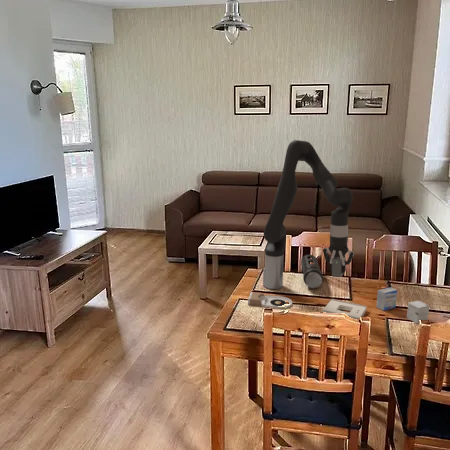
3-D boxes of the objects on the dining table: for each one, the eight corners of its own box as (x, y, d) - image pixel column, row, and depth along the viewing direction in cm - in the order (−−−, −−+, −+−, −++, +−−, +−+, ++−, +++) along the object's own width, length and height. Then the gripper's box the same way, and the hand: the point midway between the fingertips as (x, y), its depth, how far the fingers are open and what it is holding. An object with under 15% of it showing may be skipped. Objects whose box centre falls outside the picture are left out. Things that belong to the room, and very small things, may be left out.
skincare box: (406, 318, 195) (408, 302, 193) (416, 315, 198) (418, 300, 196) (417, 323, 190) (419, 307, 188) (427, 321, 192) (429, 305, 190)
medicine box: (383, 311, 202) (385, 293, 200) (375, 307, 206) (377, 289, 203) (396, 307, 205) (397, 290, 203) (388, 304, 209) (390, 286, 207)
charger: (331, 275, 197) (332, 258, 195) (334, 273, 201) (334, 255, 199) (340, 277, 195) (341, 259, 193) (343, 274, 199) (343, 257, 197)
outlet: (321, 314, 198) (322, 310, 197) (331, 303, 210) (331, 298, 209) (358, 323, 190) (359, 318, 190) (366, 310, 202) (366, 306, 202)
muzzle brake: (317, 271, 251) (318, 254, 248) (322, 291, 224) (324, 271, 221) (300, 271, 252) (300, 253, 249) (303, 290, 225) (304, 271, 222)
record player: (251, 290, 218) (293, 294, 213) (251, 296, 218) (292, 300, 214) (247, 300, 207) (291, 304, 202) (247, 306, 207) (291, 311, 203)
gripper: (320, 234, 194) (319, 272, 198) (353, 238, 187) (351, 277, 191) (325, 230, 200) (324, 267, 204) (357, 234, 193) (356, 271, 197)
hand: (337, 271), depth 198 cm, fingers closed on charger, 4 cm apart
